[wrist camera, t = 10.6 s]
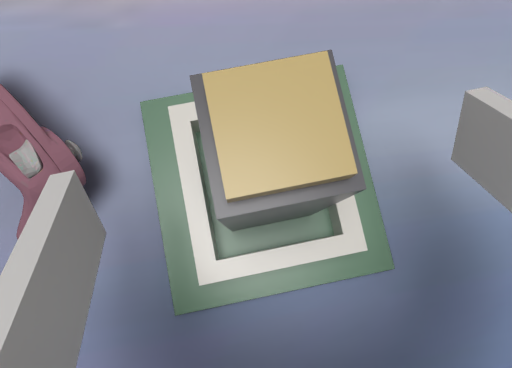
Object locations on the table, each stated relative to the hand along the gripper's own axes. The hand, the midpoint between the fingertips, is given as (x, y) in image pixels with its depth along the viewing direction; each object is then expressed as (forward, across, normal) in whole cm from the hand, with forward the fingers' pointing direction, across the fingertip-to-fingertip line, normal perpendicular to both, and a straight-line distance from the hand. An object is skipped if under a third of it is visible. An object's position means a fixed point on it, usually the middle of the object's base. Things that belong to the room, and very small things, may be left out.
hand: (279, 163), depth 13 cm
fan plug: (+6, 0, -5) cm, 8 cm away
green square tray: (+7, 0, -6) cm, 9 cm away
